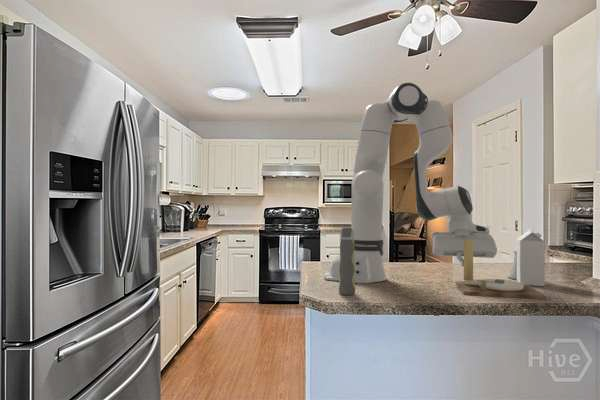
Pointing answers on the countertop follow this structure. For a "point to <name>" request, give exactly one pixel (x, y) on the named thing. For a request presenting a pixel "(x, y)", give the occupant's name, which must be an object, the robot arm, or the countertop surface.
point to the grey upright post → (347, 262)
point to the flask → (513, 268)
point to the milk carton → (531, 259)
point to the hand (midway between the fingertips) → (466, 265)
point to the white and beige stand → (490, 283)
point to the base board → (482, 291)
